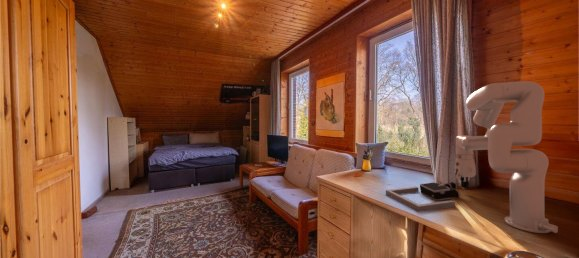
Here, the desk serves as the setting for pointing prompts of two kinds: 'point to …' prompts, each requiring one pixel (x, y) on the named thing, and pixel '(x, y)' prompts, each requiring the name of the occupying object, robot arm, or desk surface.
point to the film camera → (440, 190)
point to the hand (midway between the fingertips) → (464, 187)
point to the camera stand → (418, 207)
